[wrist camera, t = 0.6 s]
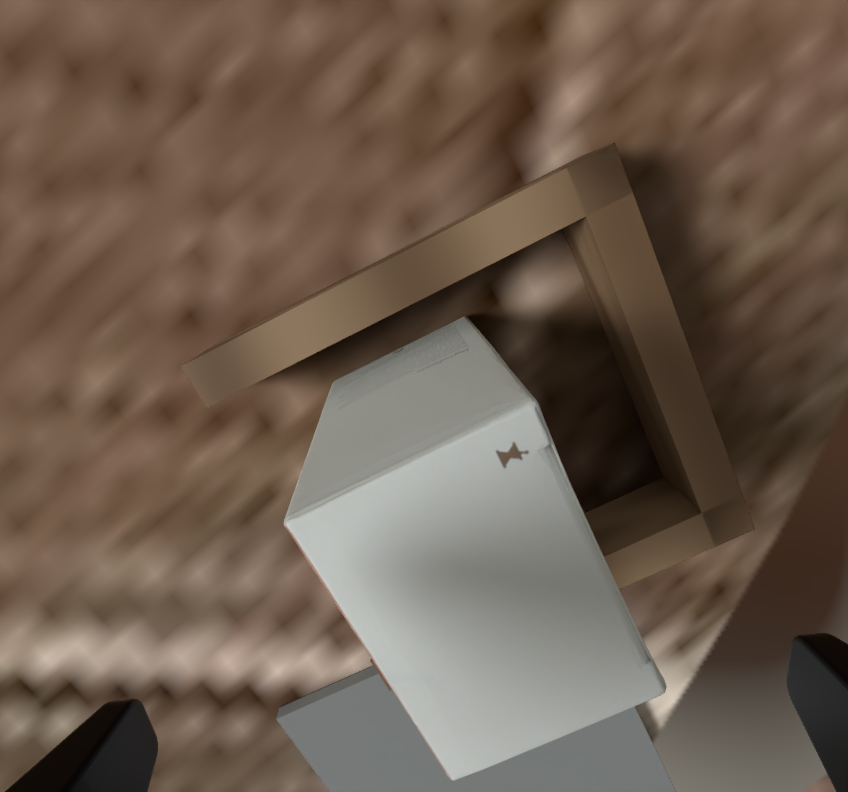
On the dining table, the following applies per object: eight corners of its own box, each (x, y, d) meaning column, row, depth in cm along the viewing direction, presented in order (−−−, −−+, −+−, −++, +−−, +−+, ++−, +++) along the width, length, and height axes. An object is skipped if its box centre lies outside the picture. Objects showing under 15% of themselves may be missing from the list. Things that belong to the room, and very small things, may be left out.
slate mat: (421, 903, 29) (421, 917, 28) (279, 707, 25) (276, 718, 24) (679, 798, 28) (685, 811, 27) (571, 576, 24) (575, 585, 23)
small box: (330, 378, 21) (270, 516, 11) (468, 311, 21) (535, 390, 11) (425, 548, 23) (447, 794, 13) (551, 491, 23) (675, 700, 13)
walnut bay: (390, 636, 24) (389, 690, 21) (210, 347, 20) (180, 366, 18) (709, 491, 23) (754, 529, 20) (582, 155, 19) (614, 142, 16)
